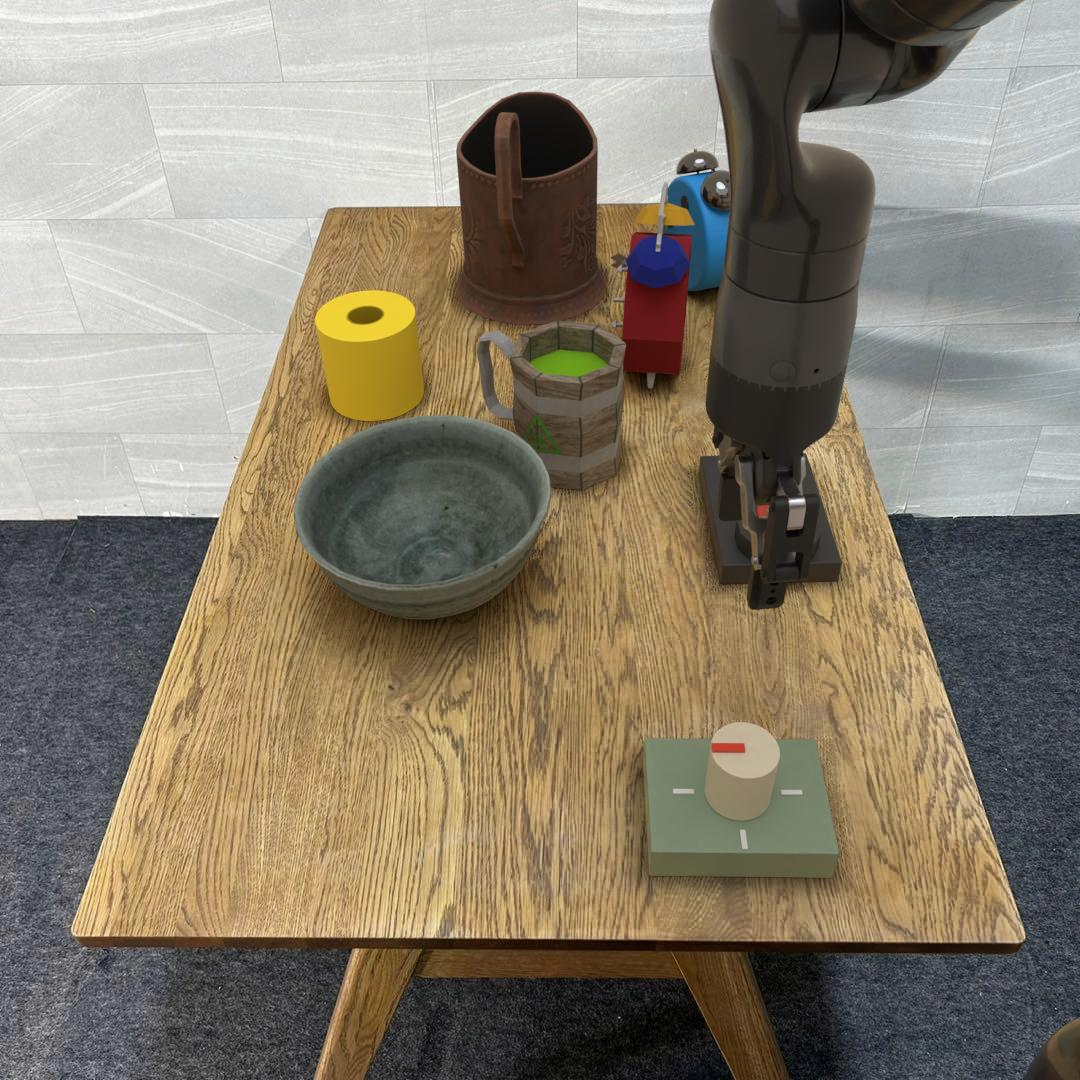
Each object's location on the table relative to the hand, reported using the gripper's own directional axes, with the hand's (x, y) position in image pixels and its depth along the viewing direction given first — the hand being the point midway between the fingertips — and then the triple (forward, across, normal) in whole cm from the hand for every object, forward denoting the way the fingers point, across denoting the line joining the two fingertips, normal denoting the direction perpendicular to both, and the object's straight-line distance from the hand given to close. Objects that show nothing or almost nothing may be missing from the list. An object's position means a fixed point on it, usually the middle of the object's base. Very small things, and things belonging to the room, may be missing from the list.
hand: (747, 559), depth 68 cm
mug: (+15, +34, +10) cm, 39 cm away
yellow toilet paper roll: (+15, +46, +27) cm, 55 cm away
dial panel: (+16, -9, +2) cm, 18 cm away
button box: (+15, +20, -8) cm, 27 cm away
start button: (+12, +16, -8) cm, 21 cm away
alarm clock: (+15, +64, -12) cm, 67 cm away
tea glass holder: (+15, +64, +10) cm, 66 cm away
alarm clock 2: (+15, +48, -2) cm, 50 cm away
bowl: (+16, +17, +22) cm, 32 cm away
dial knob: (+13, -9, +2) cm, 16 cm away
